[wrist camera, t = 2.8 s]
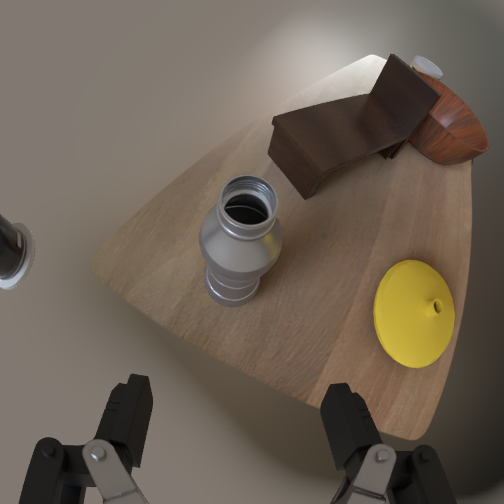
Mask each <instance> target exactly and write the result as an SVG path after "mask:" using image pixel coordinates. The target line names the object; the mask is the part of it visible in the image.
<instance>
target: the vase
mask: <svg viewBox="0 0 504 504" xmlns="http://www.w3.org/2000/svg"><path fill="white" fill-rule="evenodd" d="M373 315H374V326H375V329H376V332H377V336H378V339H379V341H380V343H381V344H382V346H383V348H384V350H385V351H386V352H387V353H388V354H389V355H390V356H391V357H392V358H393V359H394V360H395V361H397V362H399V363H401V364H403V365H405V366H407V367H413V368H420V367H424V366H428V365H430V364H431V363H433V362H434V361H436V360H437V359H438V358H439V357H440V356H441V354H442V353H443V352H444V351H445V349H446V347H447V345H448V343H449V341H450V339H451V336H452V332H453V328H454V320H455V311H454V303H453V299H452V296H451V293H450V290H449V288H448V286H447V284H446V282H445V280H444V279H443V278H442V277H441V275H440V274H439V273H438V272H437V271H436V270H435V269H433V268H432V267H430V266H429V265H428V264H426V263H423V262H421V261H418V260H405V261H402V262H399V263H397V264H395V265H394V266H393V267H392V268H390V269H389V270H388V271H387V273H386V274H385V276H384V277H383V279H382V280H381V282H380V284H379V286H378V289H377V292H376V295H375V299H374V307H373Z"/></svg>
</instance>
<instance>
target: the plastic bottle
mask: <svg viewBox="0 0 504 504" xmlns="http://www.w3.org/2000/svg"><path fill="white" fill-rule="evenodd" d="M278 203H279V201H278V195H277V193H276V191H275V189H274V187H273V186H272V185H271V184H270V183H269V182H268V181H266V180H265V179H263V178H261V177H259V176H256V175H251V174H243V175H238V176H235V177H233V178H231V179H230V180H228V181H227V182H226V183H225V184H224V186H223V187H222V189H221V191H220V194H219V199H218V203H217V204H216V205H215V206H214V207H213V208H212V209H211V210H210V211H209V212H208V214H207V215H206V217H205V218H204V220H203V223H202V225H201V228H200V233H199V243H200V248H201V251H202V254H203V257H204V259H205V261H206V263H207V264H208V265H207V268H206V271H205V276H204V280H205V286H206V289H207V291H208V293H209V295H210V296H211V297H212V298H213V299H214V300H215V301H216V302H218V303H219V304H221V305H224V306H229V307H237V306H241V305H244V304H246V303H247V302H249V301H250V300H251V299H252V298H253V297H254V296H255V294H256V292H257V291H258V288H259V284H260V276H262V275H263V274H264V273H266V272H267V271H268V270H269V269H270V268H271V267H272V266H273V265H274V263H275V262H276V261H277V259H278V257H279V255H280V252H281V248H282V232H281V226H280V223H279V220H278V219H277V217H276V214H277V211H278Z"/></svg>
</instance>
